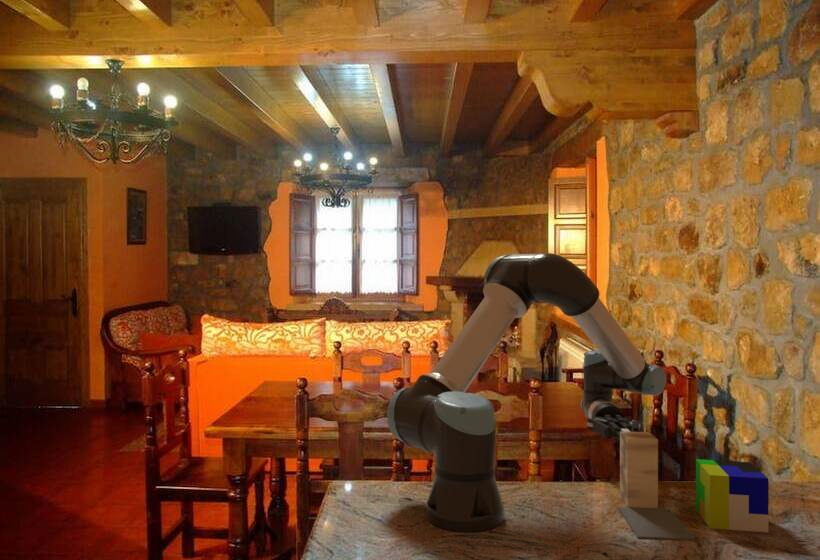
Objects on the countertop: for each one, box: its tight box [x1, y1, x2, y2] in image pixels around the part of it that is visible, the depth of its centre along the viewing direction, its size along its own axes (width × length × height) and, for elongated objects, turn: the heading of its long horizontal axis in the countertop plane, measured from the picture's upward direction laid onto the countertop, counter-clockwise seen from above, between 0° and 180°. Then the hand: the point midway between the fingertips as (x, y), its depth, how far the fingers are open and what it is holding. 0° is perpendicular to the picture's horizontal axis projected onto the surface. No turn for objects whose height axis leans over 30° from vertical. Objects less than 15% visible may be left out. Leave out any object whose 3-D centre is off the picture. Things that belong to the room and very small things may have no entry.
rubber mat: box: [617, 506, 696, 541], centre depth 116 cm, size 14×10×1 cm
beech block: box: [619, 431, 659, 508], centre depth 127 cm, size 6×6×14 cm
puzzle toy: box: [695, 458, 770, 533], centre depth 118 cm, size 10×10×10 cm
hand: (632, 442), depth 133 cm, fingers closed
